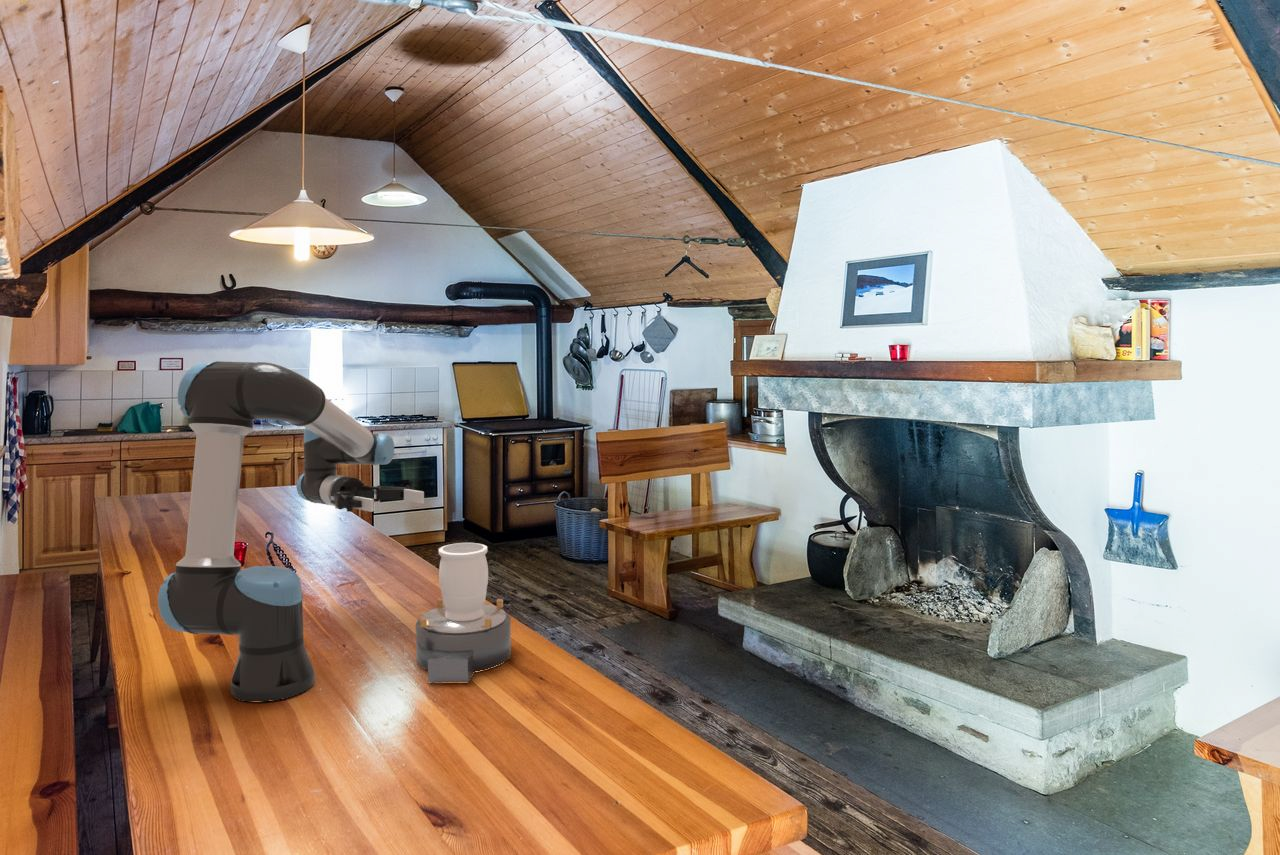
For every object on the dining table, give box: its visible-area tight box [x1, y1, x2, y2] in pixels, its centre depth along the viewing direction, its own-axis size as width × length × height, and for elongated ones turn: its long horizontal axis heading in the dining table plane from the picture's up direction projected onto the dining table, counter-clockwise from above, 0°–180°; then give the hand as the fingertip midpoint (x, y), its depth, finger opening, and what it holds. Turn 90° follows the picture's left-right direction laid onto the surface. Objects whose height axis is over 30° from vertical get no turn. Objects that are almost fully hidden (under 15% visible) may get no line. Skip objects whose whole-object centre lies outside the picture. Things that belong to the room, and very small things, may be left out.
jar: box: [438, 542, 489, 622], centre depth 181 cm, size 11×10×15 cm
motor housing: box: [415, 598, 512, 683], centre depth 179 cm, size 24×20×11 cm
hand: (398, 501), depth 190 cm, fingers open, 13 cm apart
